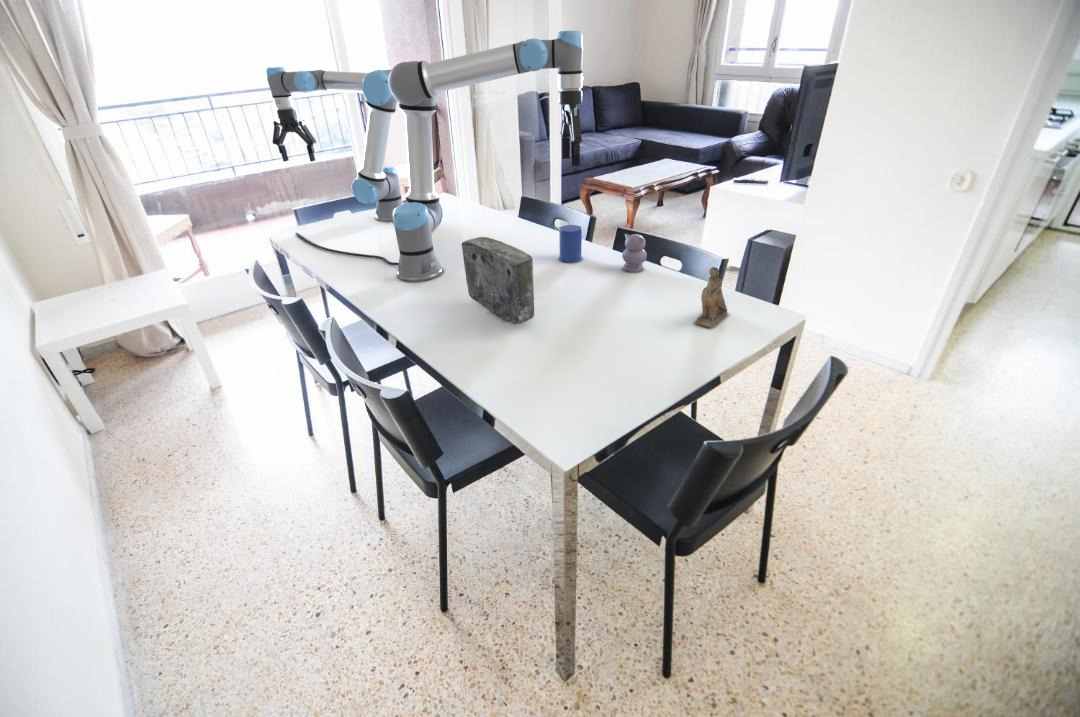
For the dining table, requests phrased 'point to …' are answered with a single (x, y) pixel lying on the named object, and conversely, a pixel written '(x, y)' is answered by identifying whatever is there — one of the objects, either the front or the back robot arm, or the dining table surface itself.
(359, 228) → the dining table surface
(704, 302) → the brown carved statuette
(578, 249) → the canister
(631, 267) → the cat figurine
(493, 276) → the concrete block
